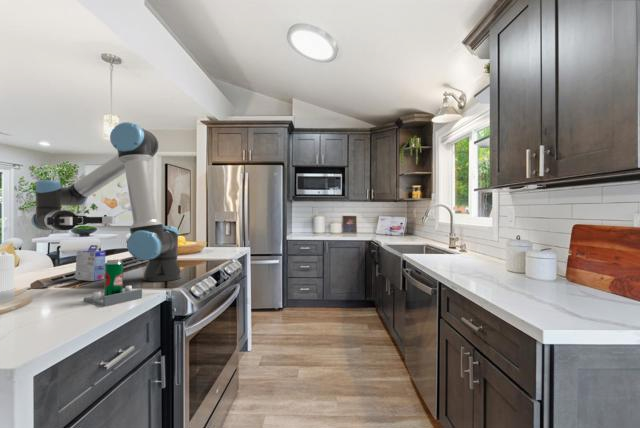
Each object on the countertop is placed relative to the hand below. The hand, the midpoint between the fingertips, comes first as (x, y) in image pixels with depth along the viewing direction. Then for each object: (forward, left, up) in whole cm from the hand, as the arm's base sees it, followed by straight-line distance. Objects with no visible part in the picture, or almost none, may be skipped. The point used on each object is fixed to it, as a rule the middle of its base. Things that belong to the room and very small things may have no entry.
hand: (93, 220), depth 112 cm
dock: (0, +12, -26) cm, 29 cm away
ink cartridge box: (-13, -27, -26) cm, 40 cm away
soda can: (0, +12, -25) cm, 28 cm away
